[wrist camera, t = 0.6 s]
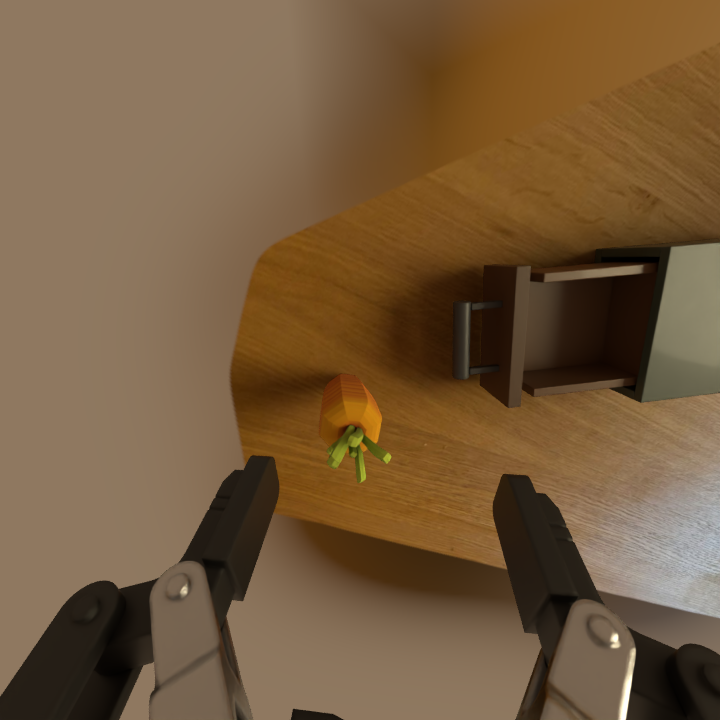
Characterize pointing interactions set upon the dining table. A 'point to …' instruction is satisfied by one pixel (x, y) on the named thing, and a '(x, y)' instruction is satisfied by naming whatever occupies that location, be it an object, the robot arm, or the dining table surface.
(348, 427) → the carrot
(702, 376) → the cabinet
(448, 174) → the dining table surface
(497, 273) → the drawer
